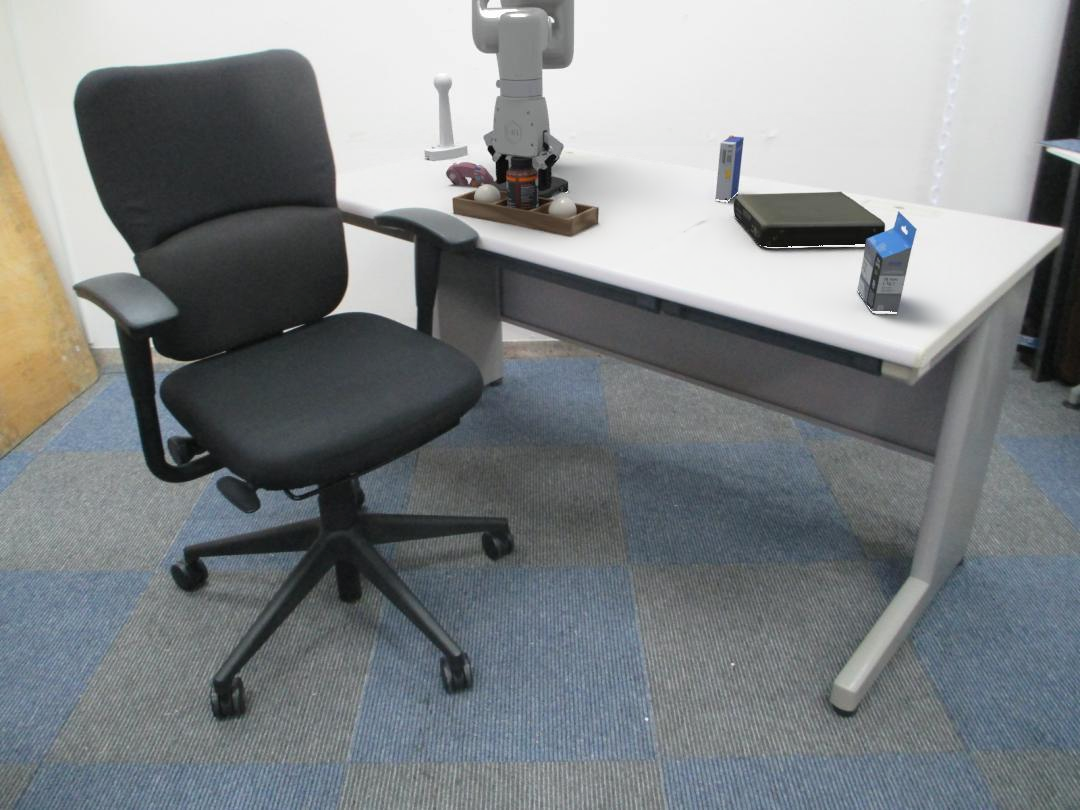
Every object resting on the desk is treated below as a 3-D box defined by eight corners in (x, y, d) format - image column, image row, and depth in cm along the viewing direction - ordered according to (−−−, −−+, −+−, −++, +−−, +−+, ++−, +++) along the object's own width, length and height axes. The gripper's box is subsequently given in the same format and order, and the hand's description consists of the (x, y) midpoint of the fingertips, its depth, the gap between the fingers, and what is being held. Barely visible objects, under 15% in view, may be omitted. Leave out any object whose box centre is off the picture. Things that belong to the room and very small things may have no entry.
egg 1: (485, 206, 164) (484, 180, 161) (506, 210, 161) (505, 183, 159) (469, 212, 160) (467, 185, 158) (490, 216, 157) (489, 189, 155)
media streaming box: (517, 183, 184) (516, 170, 183) (574, 191, 178) (574, 177, 177) (481, 199, 173) (480, 184, 172) (541, 207, 167) (541, 192, 165)
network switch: (895, 249, 141) (901, 220, 139) (767, 258, 138) (770, 229, 135) (831, 212, 161) (835, 186, 159) (717, 219, 158) (720, 193, 156)
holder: (484, 206, 167) (483, 187, 165) (598, 227, 153) (598, 207, 151) (453, 217, 160) (452, 197, 158) (569, 240, 146) (570, 219, 144)
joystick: (434, 161, 203) (427, 75, 194) (417, 156, 208) (410, 72, 199) (470, 155, 210) (466, 71, 200) (453, 150, 215) (448, 68, 205)
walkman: (724, 192, 174) (730, 134, 168) (737, 194, 173) (744, 135, 167) (714, 201, 168) (719, 141, 162) (727, 203, 166) (733, 142, 161)
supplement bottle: (545, 217, 157) (544, 156, 151) (523, 223, 153) (522, 162, 147) (522, 211, 160) (521, 152, 155) (501, 218, 156) (498, 157, 151)
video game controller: (449, 193, 182) (440, 168, 177) (456, 180, 184) (448, 154, 179) (490, 197, 179) (482, 171, 173) (497, 183, 181) (490, 157, 176)
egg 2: (558, 219, 155) (558, 192, 152) (581, 224, 152) (582, 196, 150) (542, 226, 151) (542, 198, 149) (566, 231, 148) (566, 202, 146)
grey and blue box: (855, 291, 123) (870, 210, 117) (882, 292, 122) (898, 210, 117) (870, 314, 115) (887, 228, 109) (899, 315, 115) (918, 229, 109)
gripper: (469, 87, 147) (474, 184, 155) (549, 95, 138) (550, 196, 146) (495, 82, 152) (499, 176, 160) (573, 89, 143) (573, 188, 151)
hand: (523, 185), depth 153 cm, fingers open, 9 cm apart
